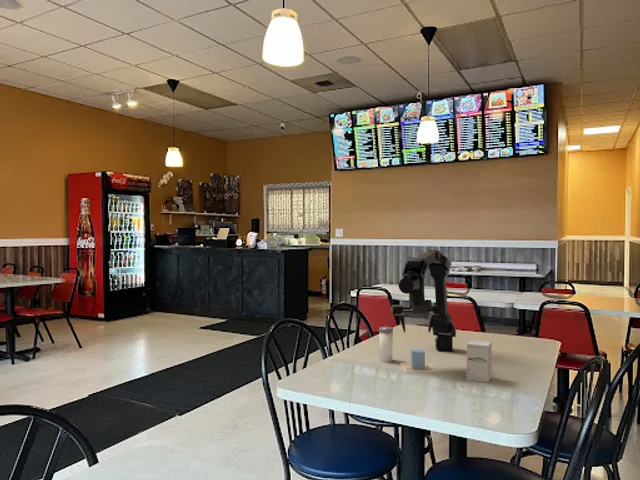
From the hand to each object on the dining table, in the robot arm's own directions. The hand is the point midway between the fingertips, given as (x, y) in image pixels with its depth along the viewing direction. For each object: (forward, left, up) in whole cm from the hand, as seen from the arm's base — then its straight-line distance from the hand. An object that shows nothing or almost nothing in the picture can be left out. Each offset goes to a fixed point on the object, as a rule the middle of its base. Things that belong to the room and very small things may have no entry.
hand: (416, 332), depth 184 cm
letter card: (0, +2, -13) cm, 13 cm away
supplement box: (-19, +15, -13) cm, 28 cm away
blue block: (0, +2, -13) cm, 13 cm away
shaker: (+11, -8, -13) cm, 19 cm away
